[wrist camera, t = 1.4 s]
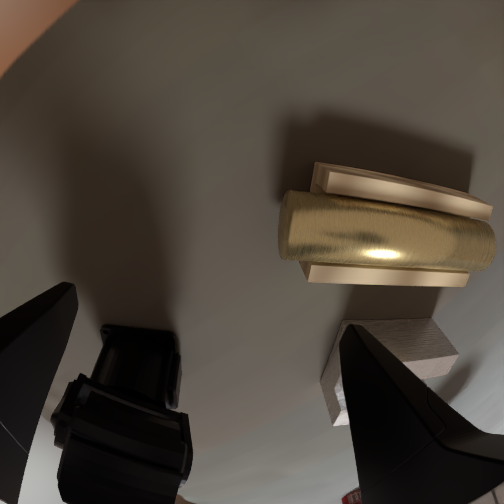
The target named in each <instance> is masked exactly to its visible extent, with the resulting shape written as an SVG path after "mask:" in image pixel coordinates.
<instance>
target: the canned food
mask: <svg viewBox="0 0 504 504" xmlns="http://www.w3.org/2000/svg"><path fill="white" fill-rule="evenodd" d="M360 493H361V492H360V489H359V490H356V491H354V492H352V493H350V494H348V495H346V496H344V497H343V498H342V503H343V504H362V503H361V495H360Z"/></svg>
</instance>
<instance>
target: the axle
mask: <svg viewBox="0 0 504 504" xmlns="http://www.w3.org/2000/svg"><path fill="white" fill-rule="evenodd" d="M278 248H279V254H280V257H281V259H283V260H298V261H313V262H329V263H345V264H361V265H377V266H393V267H410V268H426V269H443V270H461V271H482V270H484V269H486V268H487V267H488V266H489V265H490V263H491V262H492V260H493V258H494V255H495V250H496V239H495V235H494V232H493V230H492V228H491V227H490V225H489V224H488V223H486V222H484V221H480V220H476V219H471V218H466V217H461V216H457V215H452V214H447V213H441V212H436V211H431V210H425V209H420V208H414V207H408V206H403V205H397V204H390V203H384V202H378V201H371V200H365V199H358V198H351V197H343V196H336V195H328V194H320V193H312V192H304V191H295V190H287V191H286V192H285V194H284V197H283V200H282V204H281V209H280V215H279V224H278Z"/></svg>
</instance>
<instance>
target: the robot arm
mask: <svg viewBox="0 0 504 504" xmlns="http://www.w3.org/2000/svg"><path fill="white" fill-rule="evenodd" d="M77 311H78V298H77V293H76V287H75V285H74V284H73V283H69V282H61V283H59V284H58V285H56V286H54V287H52V288H50V289H49V290H47V291H45V292H43V293H42V294H40V295H38V296H36V297H35V298H33V299H31V300H29V301H28V302H26V303H24V304H23V305H21V306H19V307H17V308H16V309H14V310H12V311H11V312H9V313H7V314H6V315H4V316H2V317H1V318H0V500H1V501H3V502H5V503H7V504H18V498H19V494H20V489H21V484H22V480H23V475H24V471H25V467H26V463H27V459H28V456H29V455H28V454H29V451H30V448H31V445H32V441H33V438H34V434H35V431H36V428H37V425H38V421H39V418H40V415H41V412H42V409H43V406H44V404H45V401H46V398H47V395H48V392H49V390H50V387H51V384H52V381H53V379H54V376H55V374H56V371H57V369H58V366H59V364H60V361H61V359H62V356H63V354H64V351H65V349H66V346H67V343H68V339H69V336H70V333H71V329H72V326H73V323H74V320H75V317H76V314H77ZM105 330H107V331H105ZM100 332H101V337H102V341H103V347H102V349H101V352H100V354H99V357H98V359H97V362H96V364H95V367H94V369H93V372H92V375H91V377H90V378H88V377H86V375H84V374H82V373H80V374H79V376H78V378H77V380H75V379H74V381H73V382H69V383H68V386H67V388H66V391H65V393H64V395H63V397H62V399H61V401H60V403H59V404H58V406H57V407H56V409H55V410H54V412H53V413H52V416H51V419H50V421H51V423H52V426H53V427H54V436H55V440H54V445H55V446H57V447H59V448H61V449H63V451H62V455H61V459H60V464H59V468H58V472H57V479H58V488H59V492H60V495H61V498H62V500H63V502H65V503H67V504H174V503H175V499H176V495H177V492H178V488H180V487H182V486H183V485H184V484H185V483H186V481H187V479H188V477H189V474H190V471H191V466H192V460H193V447H192V440H191V433H190V426H189V418H188V414H186V413H183V412H181V413H179V412H176V411H173V410H171V409H176V408H177V407H178V402H179V393H180V384H181V376H182V370H181V356H180V354H179V353H176V341H175V335H174V333H172V332H169V331H158V330H148V329H139V328H130V327H121V326H113V325H102V327H101V329H100ZM167 337H170V338H167ZM339 354H340V365H341V377H342V386H343V392H344V397H345V402H346V408H347V413H348V418H349V424H350V430H351V435H352V441H353V447H354V453H355V460H356V466H357V473H358V480H359V487H360V492H361V493H360V495H361V503H362V504H504V435H500V434H490V433H486V432H483V431H481V430H479V429H478V428H476V427H475V426H474V425H473V424H471V423H470V422H469V421H468V420H466V419H465V418H464V417H463V416H461V415H460V414H459V413H458V412H456V411H455V410H454V409H453V408H452V407H450V406H449V405H448V404H447V403H446V402H444V401H443V400H442V399H441V398H440V397H439V396H438V395H437V394H436V393H434V392H433V391H432V390H431V389H430V388H429V387H427V385H426V384H425V383H424V382H423V381H422V380H421V379H420V378H418V377H417V376H416V375H415V374H414V373H413V372H412V371H411V370H410V369H409V368H408V367H407V366H406V365H405V364H403V363H402V362H401V361H400V360H399V359H398V358H397V357H396V356H395V355H394V354H393V353H392V352H390V351H389V350H388V349H387V348H386V347H385V346H384V345H383V344H382V343H381V342H380V341H379V340H377V339H376V338H375V337H374V336H373V335H372V334H371V333H370V332H369V331H368V330H367V329H365V328H364V327H363V326H362V325H361V324H354V323H350V324H348V325H347V327H346V329H345V331H344V333H343V335H342V337H341V339H340V342H339Z"/></svg>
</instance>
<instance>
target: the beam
mask: <svg viewBox="0 0 504 504" xmlns="http://www.w3.org/2000/svg"><path fill="white" fill-rule="evenodd" d="M310 192H312V193H320V194H328V195H336V196H343V197H351V198H358V199H365V200H371V201H378V202H384V203H390V204H397V205H403V206H408V207H414V208H420V209H425V210H431V211H436V212H441V213H447V214H452V215H457V216H461V217H466V218H470V217H473V218H478V219H482V220H487V221H489V218H490V215H491V211H492V208H493V206H491V205H489V204H488V203H486V202H484V201H482V200H480V199H478V198H476V197H474V196H473V195H471V194H469V193H465V192H461V191H458V190H454V189H450V188H446V187H442V186H438V185H434V184H430V183H426V182H421V181H417V180H413V179H408V178H404V177H399V176H394V175H389V174H384V173H379V172H374V171H369V170H363V169H358V168H352V167H346V166H340V165H334V164H328V163H321V162H315V164H314V170H313V177H312V183H311V188H310ZM299 263H300V265H301V267H302V270H303V272H304V274H305V277H306V279H307V281H308V282H319V283H343V284H370V285H402V286H448V287H465V285H466V282H467V280H468V278H469V275H470V273H468V272H467V271H461V270H443V269H426V268H410V267H393V266H377V265H361V264H345V263H329V262H313V261H299Z"/></svg>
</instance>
